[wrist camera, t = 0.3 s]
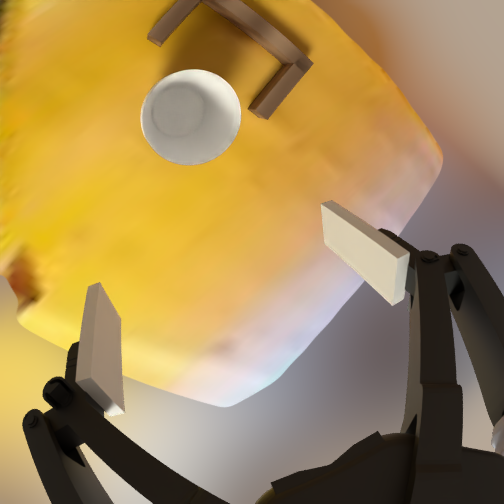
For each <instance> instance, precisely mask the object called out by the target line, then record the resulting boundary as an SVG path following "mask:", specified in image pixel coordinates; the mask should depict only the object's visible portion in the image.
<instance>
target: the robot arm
mask: <svg viewBox="0 0 504 504" xmlns="http://www.w3.org/2000/svg"><path fill="white" fill-rule="evenodd" d="M321 211H322V222H323V232H324V244H325V245H327V246H328V247H329V248H330V249H331V250H332V251H333V252H334V253H336V254H337V255H338V256H339V257H340V258H341V259H342V260H343V261H345V262H346V263H347V264H348V265H349V266H350V267H351V268H352V269H353V270H354V271H356V272H357V273H358V274H359V275H360V276H361V277H362V278H363V279H364V280H365V281H366V282H368V283H369V284H370V285H371V286H372V287H373V288H374V289H375V290H376V291H377V292H378V293H379V294H380V295H381V296H383V297H384V298H385V299H386V300H387V301H388V302H389V303H390V304H391V305H394V304H396V303H398V302H399V301H401V300H403V299H404V294H405V290H406V291H408V292H409V293H410V298H409V304H408V309H407V310H409V311H410V334H409V337H410V338H409V366H408V382H407V394H406V405H405V414H404V420H403V424H402V428H401V432H400V433H392V434H386V435H382V436H381V435H380V433H379V432H378V431H377V432H375V433H374V434H372V435H370V436H368V437H367V438H365V439H363V440H361V441H360V442H358V443H356V444H354V445H353V446H352V447H350V448H349V449H348V450H347V451H346V452H345V453H344V454H342V455H341V456H340V457H339V458H338V459H337V460H335V461H334V462H333V463H332V464H330V465H327V466H323V467H318V468H314V469H309V470H304V471H299V472H296V473H294V474H291V475H289V476H286V477H284V478H281V479H279V480H276V481H274V482H271V485H272V488H271V489H270V490H268V491H267V492H266V493H264V494H263V495H262V496H261V497H260V498H259V499H258V500H257V502H256V503H255V504H504V296H503V295H502V293H501V291H500V290H499V288H498V286H497V285H496V283H495V282H494V280H493V278H492V277H491V275H490V274H489V272H488V271H487V269H486V268H485V266H484V265H483V263H482V262H481V260H480V259H479V257H478V256H477V254H476V253H475V252H474V250H473V249H472V248H471V247H469V246H468V245H465V244H455V245H453V246H452V247H451V252H450V254H447V255H442V256H439V255H438V254H437V253H435V252H433V251H428V250H425V251H419V250H417V249H416V248H414V247H413V246H412V245H410V244H409V243H407V242H406V241H404V240H402V239H401V238H400V237H397V235H395V234H394V233H392V232H391V231H388V230H385V229H382V228H381V229H379V230H377V229H375V228H374V227H372V226H371V225H369V224H368V223H366V222H365V221H363V220H362V219H360V218H359V217H357V216H356V215H354V214H353V213H351V212H350V211H348V210H347V209H345V208H343V207H342V206H340V205H339V204H337V203H336V202H334V201H332V200H331V201H328V202H324V203H321ZM450 309H451V312H452V314H453V316H454V319H455V321H456V323H457V326H458V328H459V331H460V333H461V335H462V338H463V341H464V343H465V346H466V349H467V351H468V354H469V357H470V359H471V362H472V365H473V367H474V370H475V374H476V377H477V380H478V382H479V385H480V389H481V392H482V395H483V399H484V402H485V406H486V409H487V412H488V415H489V417H490V420H491V422H492V424H493V426H494V429H493V433H492V434H493V438H492V440H491V445H492V446H493V447H494V448H495V452H489V451H483V450H478V449H472V448H468V447H463V446H462V429H463V396H462V395H463V393H462V387H461V386H460V385H458V384H457V380H456V363H455V348H454V338H453V328H452V320H451V313H450ZM66 368H67V369H66V371H65V379H64V378H62V377H54V378H52V379H51V380H50V381H48V382H47V383H46V385H45V387H44V389H43V398H44V400H45V401H46V402H47V403H49V405H51V406H52V407H53V408H52V409H50V410H49V411H47V412H45V413H44V414H43V413H42V412H41V411H40V410H38V409H32V410H30V411H29V412H28V413H27V414H26V415H25V417H24V419H23V423H22V426H23V431H24V434H25V437H26V440H27V443H28V446H29V449H30V452H31V455H32V458H33V460H34V463H35V466H36V468H37V471H38V473H39V476H40V478H41V481H42V483H43V486H44V488H45V490H46V492H47V495H48V497H49V499H50V501H51V503H52V504H114V503H113V502H112V500H111V499H110V498H109V496H108V494H107V493H106V491H105V490H104V488H103V487H102V485H101V484H100V482H99V480H98V479H97V477H96V475H95V474H94V472H93V470H92V468H91V467H90V465H89V463H88V462H87V460H86V458H85V456H84V454H83V452H82V451H81V449H80V447H79V445H81V444H83V443H86V444H87V445H88V447H90V449H91V450H92V451H93V452H94V453H95V454H96V455H97V456H98V457H100V458H101V459H102V460H103V461H104V462H105V463H106V464H107V465H108V466H109V467H110V468H111V469H112V470H113V471H114V472H116V473H117V474H118V475H119V476H120V477H121V478H122V479H124V480H125V481H126V482H127V483H128V484H130V485H131V486H132V487H133V488H134V489H135V490H137V491H138V492H139V493H140V494H142V495H143V496H144V497H145V498H147V499H148V500H149V501H151V502H152V503H153V504H230V503H228V502H226V501H224V500H222V499H220V498H218V497H217V496H215V495H213V494H211V493H209V492H208V491H206V490H204V489H202V488H201V487H198V486H197V485H195V484H194V483H192V482H190V481H189V480H187V479H186V478H184V477H183V476H181V475H179V474H178V473H176V472H175V471H173V470H172V469H170V468H169V467H167V466H166V465H164V464H163V463H162V462H160V461H159V460H157V459H156V458H154V457H153V456H152V455H150V454H149V453H147V452H146V451H145V450H144V449H142V448H141V447H140V446H138V445H137V444H136V443H134V442H133V441H132V440H131V439H129V438H128V437H127V436H126V435H124V434H123V433H122V432H121V431H119V430H118V429H117V428H116V427H115V426H114V425H112V424H111V423H110V422H109V421H108V420H107V419H105V418H104V411H105V412H106V413H107V414H108V415H109V416H115V415H119V414H123V413H125V408H124V395H123V381H122V357H121V318H120V316H119V315H118V313H117V311H116V310H115V308H114V306H113V304H112V303H111V301H110V299H109V298H108V296H107V294H106V292H105V291H104V289H103V287H102V285H101V283H100V282H99V283H96V284H94V285H91V286H89V287H88V290H87V295H86V301H85V307H84V313H83V319H82V326H81V333H80V341H79V342H76V343H73V344H72V345H71V347H70V349H69V351H68V357H67V363H66Z"/></svg>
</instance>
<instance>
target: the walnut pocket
mask: <svg viewBox="0 0 504 504" xmlns="http://www.w3.org/2000/svg"><path fill="white" fill-rule="evenodd" d="M201 2H203V3H205V4H206V5H208V6H209V7H211V8H212V9H213V10H215V11H216V12H218V13H219V14H221V15H222V16H223V17H225V18H226V19H227V20H229V21H230V22H231V23H233V24H234V25H236V26H237V27H238V28H239V29H241V30H242V31H243V32H245V33H246V34H247V35H249V36H250V37H251V38H252V39H254V40H255V41H256V42H257V43H259V44H260V45H261V46H262V47H263V48H265V49H266V50H267V51H268V52H269V53H271V54H272V55H273V56H274V57H275V58H276V59H278V60H279V61H280V62H281V63H282V64H283V65H284V66H283V67H282V68H281V69H280V70H279V71H278V73H277V74H276V75H275V76H274V77H273V78H272V80H271V81H270V82H269V83H268V84H267V86H266V87H265V88H264V89H263V90H262V92H261V93H260V94H259V95H258V97H257V98H256V99H255V100H254V102H253V103H252V104H251V105H250V107H249V108H248V109H249V110H250V111H251V112H252V113H254V114H255V115H256V116H257V117H259V118H262V119H267V120H268V119H269V117H270V116H271V115H272V113H273V112H274V111H275V110H276V108H277V107H278V106H279V105H280V103H281V102H282V101H283V100H284V99H285V97H286V96H287V95H288V94H289V92H290V91H291V90H292V89H293V88H294V86H295V85H296V84H297V83H298V82H299V80H300V79H301V78H302V77H303V76H304V74H305V73H306V72H307V71H308V70H309V68H310V67H311V66H312V65H313V64H314V63H313V62H312V61H311V60H310V59H309V58H308V57H307V56H306V55H305V54H303V53H302V52H301V51H300V50H299V49H298V48H297V47H296V46H295V45H294V44H293V43H292V42H290V41H289V40H288V39H287V38H286V37H285V36H284V35H283V34H281V33H280V32H279V31H278V30H277V29H276V28H274V27H273V26H272V25H271V24H270V23H268V22H267V21H266V20H265V19H263V18H262V17H261V16H260V15H259V14H257V13H256V12H255V11H253V10H252V9H251V8H250V7H248V6H247V5H246V4H244V3H243V2H242V1H240V0H178V1H177V2H176V3H175V4H174V5H173V7H172V8H171V9H170V10H169V11H168V12H167V13H166V14H165V15H164V16H163V17H162V18H161V19H160V21H159V22H158V23H157V24H156V25H155V26H154V27H153V28H152V30H151V31H150V32H149V33H148V36H147V39H148V40H150V41H151V42H153V43H155V44H156V45H158V46H159V47H161V45H162V44H163V43H164V42H165V41H166V40H167V38H168V37H169V36H170V35H171V34H172V33H173V31H174V30H175V29H176V28H177V27H178V26H179V25H180V24H181V23H182V22H183V20H184V19H185V18H186V17H187V16H188V15H189V14H190V13H191V12H192V11H193V10H194V9H195V8H196V7H197V6H198V5H199V4H200V3H201Z"/></svg>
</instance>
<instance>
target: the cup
mask: <svg viewBox="0 0 504 504" xmlns="http://www.w3.org/2000/svg"><path fill="white" fill-rule="evenodd" d="M240 122H241V108H240V103H239V100H238V97H237V95H236V93H235V91H234V90H233V88H232V87H231V86H230V85H229V84H228V83H227V82H226V81H225V80H224V79H223V78H221V77H220V76H218V75H216V74H214V73H211V72H209V71H205V70H198V69H190V70H183V71H179V72H175V73H172V74H170V75H168V76H166V77H164V78H162V79H161V80H160V81H158V82H157V83H156V84H155V85H154V86H153V87H152V88H151V90H150V91H149V92H148V94H147V96H146V98H145V100H144V102H143V105H142V109H141V127H142V131H143V134H144V136H145V138H146V140H147V142H148V143H149V144H150V146H151V147H152V148H153V150H154V151H155V152H156V153H157V154H159V155H160V156H161V157H163V158H164V159H166V160H168V161H170V162H173V163H176V164H181V165H197V164H202V163H206V162H208V161H211V160H213V159H215V158H216V157H218V156H219V155H221V154H222V153H223V152H224V151H225V150H226V149H227V148H228V147H229V146H230V145H231V143H232V142H233V140H234V139H235V137H236V135H237V133H238V130H239V127H240Z"/></svg>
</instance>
